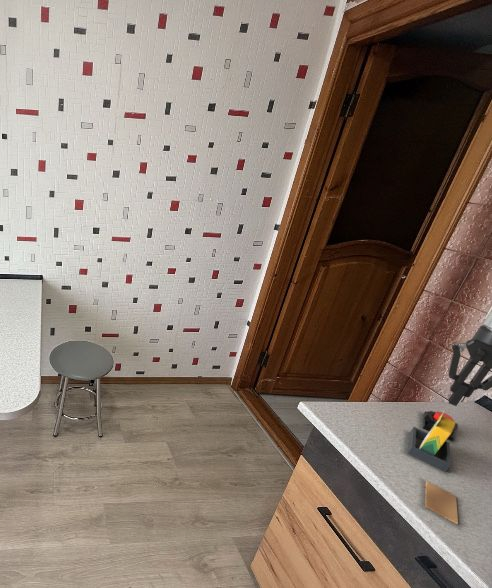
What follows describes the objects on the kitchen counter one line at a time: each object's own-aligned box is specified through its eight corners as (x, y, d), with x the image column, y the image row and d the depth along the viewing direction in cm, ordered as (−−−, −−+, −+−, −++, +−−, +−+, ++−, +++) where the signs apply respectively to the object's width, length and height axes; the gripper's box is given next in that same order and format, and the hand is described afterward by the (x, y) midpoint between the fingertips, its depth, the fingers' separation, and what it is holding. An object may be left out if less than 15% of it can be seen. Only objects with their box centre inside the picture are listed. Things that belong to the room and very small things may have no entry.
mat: (455, 497, 76) (456, 496, 76) (457, 524, 70) (458, 523, 70) (425, 482, 79) (426, 481, 79) (425, 506, 73) (426, 505, 73)
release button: (432, 414, 98) (435, 409, 98) (449, 421, 96) (453, 416, 95) (432, 419, 96) (435, 415, 95) (450, 427, 94) (453, 422, 93)
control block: (422, 413, 102) (427, 406, 101) (451, 425, 98) (457, 418, 97) (421, 428, 96) (426, 420, 95) (453, 442, 92) (458, 434, 91)
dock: (444, 449, 89) (449, 442, 88) (445, 472, 82) (451, 465, 81) (409, 433, 94) (413, 426, 93) (407, 453, 87) (412, 446, 86)
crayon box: (431, 461, 85) (455, 428, 80) (415, 453, 87) (438, 420, 82) (436, 449, 89) (460, 416, 84) (422, 441, 91) (444, 409, 86)
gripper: (467, 324, 85) (420, 395, 95) (547, 347, 77) (487, 422, 87) (465, 316, 90) (421, 385, 100) (540, 337, 82) (484, 409, 92)
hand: (452, 402), depth 93 cm, fingers closed
